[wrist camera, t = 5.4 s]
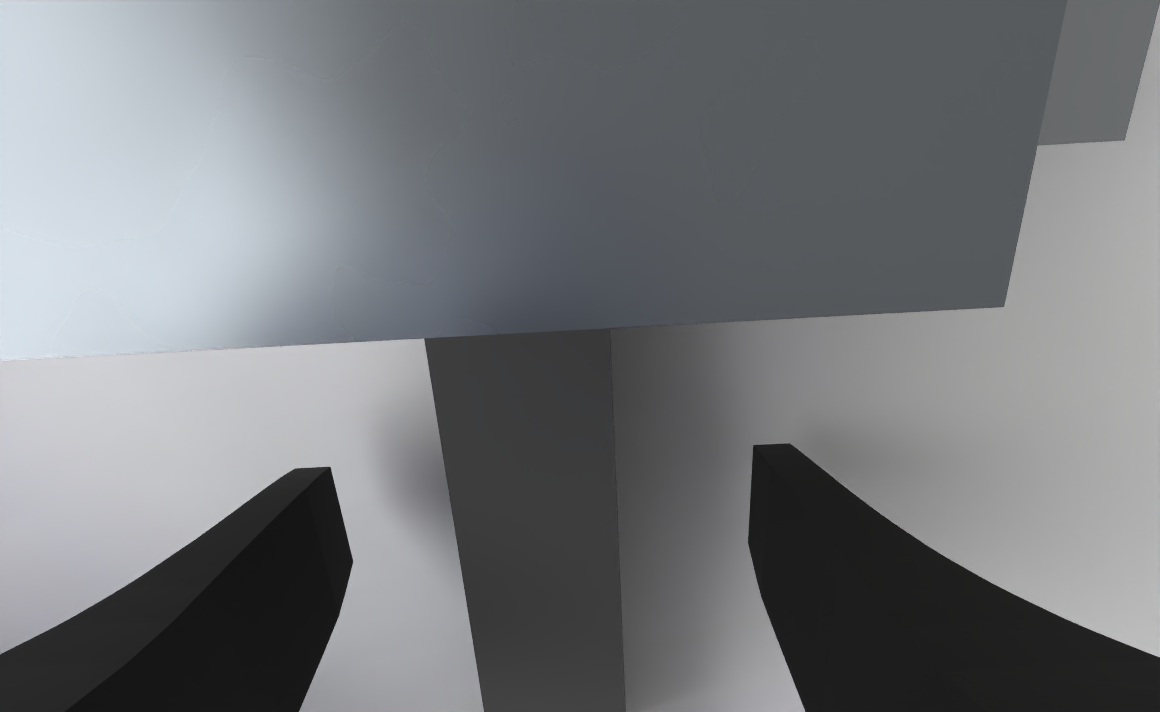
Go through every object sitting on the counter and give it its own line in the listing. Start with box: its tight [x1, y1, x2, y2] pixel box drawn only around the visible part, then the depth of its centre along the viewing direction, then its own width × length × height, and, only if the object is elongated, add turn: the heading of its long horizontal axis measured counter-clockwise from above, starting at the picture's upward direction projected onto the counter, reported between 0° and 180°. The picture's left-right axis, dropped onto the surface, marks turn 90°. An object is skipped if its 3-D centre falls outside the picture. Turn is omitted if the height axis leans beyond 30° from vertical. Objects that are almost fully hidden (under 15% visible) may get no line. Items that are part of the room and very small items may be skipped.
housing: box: [0, 0, 1160, 361], centre depth 8 cm, size 5×11×6 cm, turn 93°
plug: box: [424, 328, 626, 712], centre depth 11 cm, size 17×4×4 cm, turn 3°
